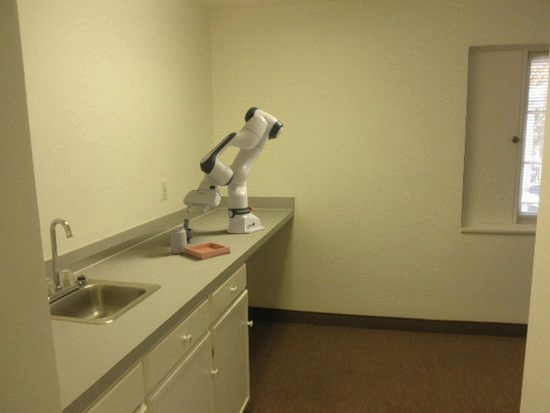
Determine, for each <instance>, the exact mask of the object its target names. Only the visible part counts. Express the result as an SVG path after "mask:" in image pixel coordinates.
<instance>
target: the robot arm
mask: <svg viewBox="0 0 550 413" xmlns="http://www.w3.org/2000/svg"><path fill="white" fill-rule="evenodd" d="M244 122H245V124H244V125H243V127H242V128H241V129H240V130H239V131H237V132H231V133H229V134H227V136H225V137H224V139H222V140H221V141H220V142H219V143H218V144H217V145H216V146H214V148H213V149H212V150H211V151H210V152H208V153H206V155H204V156H203V158H201V159H200V162H199V168H200V171H201V172H203V173H204V175H203V179H202V180H201V182H200V184H199V185H198V187H197V189H192V190H190V191H188V192H187V194H186V195H185V196H184V198H183V200H182V202H183V203H184V205H185V206H187V207H186V212H187V213H191V212H192V209H191V208H192V207H202V209H201V210H200V212H201V213H202V214H206V213H207V211H209V210H210V209H211V208H217V207H218V206H219V205H220V203H221V201H222V197H223V192H222V191H221V190H220V188H219V187H225V186H227V197H228V198H227V199H228V200H227V201H228V202H227V203H228V208H227V213H228V225H227V230H226V232H227V233H229V234H251V233H252V234H253V233H255V232H258V231H261V230H264V229H265V226H264V225H261V220H260V218H259V217H258V216H256V215H255V214H253V213H252V211H254V210H255V208H254V206H249V201H248V198H249V197H248V189H247V188H248V187H247V178H248V177H249V175H250V173H251V171H252V169H253V168H254V166H255V164H256V162H257V160H258V158H259V157H260V155H261V154H262V152H263V150H264V148H265V147H266V145H267V143H268V140H269V141H271V140H276V139H277V138H279V137H280V135H282V133H283V130H284V124H283V123H282V121H280V119H277V118H276V117H275V116H273V115H272V114H270V113H268V112H266V111H264V110H262V109H260V108H259V107H256V106H252V107H250V108H248V109H247V111H246V113H245V115H244ZM232 146H233V147H236V148H238V149H239V151H238V152H237V154H236V156H235V157H234V160H233V162H232V164H230V165H229V166H228V165H227V164H225V163H224V162H223V161H222V160H221V159H220V156H221V155H222V154H223V153H224V152H225V151H226V150H228V148H230V147H232ZM203 207H204V208H203Z"/></svg>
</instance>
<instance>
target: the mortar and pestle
mask: <svg viewBox="0 0 550 413" xmlns="http://www.w3.org/2000/svg"><path fill="white" fill-rule="evenodd" d="M189 224H190V219H189V218H185V219H184V221H183V226H182V227H184V230H186V239H187V245H188V244H191V239H192V238H193V235H194V233H193V232H194V229H193V228H189Z"/></svg>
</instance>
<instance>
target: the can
mask: <svg viewBox="0 0 550 413" xmlns="http://www.w3.org/2000/svg"><path fill="white" fill-rule="evenodd" d="M169 231H170V232H169V238H170V240H169V241H170V252H171V253H172V254H173V255H182V254H184V248H186V247H188V244H187V239H186V230H184V227H183V226H180V227H179V226H176V227H172V228H170V230H169Z"/></svg>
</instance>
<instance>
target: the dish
mask: <svg viewBox="0 0 550 413" xmlns="http://www.w3.org/2000/svg"><path fill="white" fill-rule="evenodd" d="M183 254H184V255H186V256H189V257H192V258H195V259H198V260H201V261H205V260H208V258H209V259H212V258H216V256H217V257H220V255H221V256H224V255H229V254H231V247H230V246H228V245H224V244H222V243H218V242H214V241H210V242H209V241H208V242H205V243H200V244H196V245H191V246H190V245H189V246H187V247H186V248H184V253H183Z"/></svg>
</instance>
